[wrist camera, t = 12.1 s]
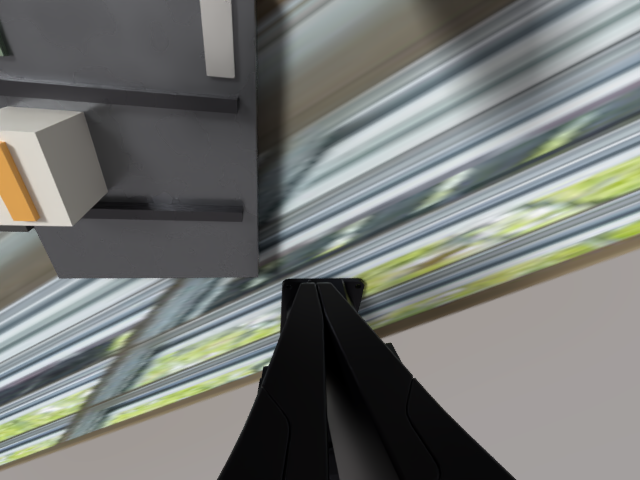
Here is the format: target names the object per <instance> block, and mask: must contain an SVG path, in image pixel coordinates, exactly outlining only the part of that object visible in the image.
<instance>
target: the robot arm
mask: <svg viewBox="0 0 640 480" xmlns="http://www.w3.org/2000/svg"><path fill="white" fill-rule="evenodd" d="M357 284H359V285H357ZM287 285H291V286H287ZM363 289H364V283H363V280H362V279H359V278H339V279H286V280H284V281H283V283H282V302H281V325H280V338H279V340H278V343H277V346H276V348H275V351H274V353H273V356H272V358H271V361H270V364H269V366H265V367H263V372H262V378H260V382H259V388H258V394H257V397H256V399H255V402H254V404H253V407H252V409H251V412H250V414H249V416H248V419H247V421H246V423H245V426H244V428H243V430H242V432H241V434H240V436H239V438H238V440H237V442H236V444H235V446H234V448H233V450H232V452H231V455H230V456H229V458H228V460H227V462H226V464H225V466H224V468H223V470H222V471H221V473H220V475H219V477H218V479H217V480H516V479H515V478H514V477H513V476H512V475H511V474H510V473H509V472H508V471H506V469H505V468H504V467H502V466H501V465H500V464H499V463H498V462H497V461H496V460H495V459H494V458H493V457H492V456H491V455H490V454H489V453H488V452H487V451H486V450H485V449H484V448H482V447H481V446H480V445H479V444H478V443H477V442H476V441H475V440H474V439H473V438H472V437H471V436H470V435H469V434H468V433H467V432H466V431H465V430H464V429H463V428H462V427H461V426H460V425H459V424H458V423H457V422H456V421H455V420H454V419H453V418H452V417H451V416H450V415H449V414H448V413H446V411H445V410H444V409H443V408H442V407H441V406H440V405H439V404H438V403H437V402H436V401H435V399H434V398H433V397H431V395H430V394H429V393H428V392H427V391H426V390H425V389H424V388H423V386H422V385H421V384H420V383H419V382H418V381H417V380H416V378H413V375H412V374H411V373H410V372H409V371H408V369H407V368H406V367H405V366H404V365H403V364H402V362H401V360H400V358H399V356H398V355H397V353H396V351H395V349H394V347H393V345H392V343H386V344H385V343H384V342H383V341H382V340H381V339H380V338H379V337H378V335H377V334H376V333H375V332H374V331H373V330H372V329H371V327H370V326H369V325H368V324H367V323H366V322H365V321H364V320H363V318H362V317H361V316H360V315H359V314H358V310H359V306H360V302H361V298H362V293H363Z"/></svg>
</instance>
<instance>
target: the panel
mask: <svg viewBox="0 0 640 480" xmlns="http://www.w3.org/2000/svg"><path fill="white" fill-rule="evenodd" d="M7 106H10V107H24V108H38V109H52V110H65V111H79V112H84V115H85V118H86V122H87V125H88V128H89V131H90V135H91V138H92V141H93V144H94V148H95V151H96V154H97V157H98V161H99V164H100V167H101V170H102V174H103V177H104V180H105V183H106V187H107V190H108V192H107V193H106V194H105V195H104V196H103V197H102V198H101V199H100V200H99V201H98V202H97V203H96V204H95V205H94V206H93V207H92V208H91V209H90V210H89V211H88V212H87V213H86V214H85V215H84V216H83V217H82V218H81V219H80V220H79V221H78V222H77V223H76V224H75V225H74V226H34V227H35V229H36V231H37V233H38V236H39V238H40V240H41V242H42V244H43V246H44V248H45V250H46V252H47V254H48V256H49V258H50V260H51V262H52V264H53V266H54V268H55V271H56V273H57V275H58V277H59V278H203V277H258V271H259V194H258V102H257V9H256V0H0V108H4V107H7Z"/></svg>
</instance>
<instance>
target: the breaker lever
mask: <svg viewBox="0 0 640 480" xmlns="http://www.w3.org/2000/svg"><path fill="white" fill-rule="evenodd" d="M107 192H108V190H107V187H106V183H105V180H104V177H103V174H102V170H101V167H100V164H99V161H98V157H97V154H96V151H95V148H94V144H93V141H92V138H91V135H90V131H89V128H88V125H87V122H86V118H85V115H84V112H79V111H65V110H52V109H38V108H24V107H10V106H7V107H4V108H0V225H24V226H74V225H75V224H76V223H77V222H78V221H79V220H80V219H81V218H82V217H83V216H84V215H85V214H86V213H87V212H88V211H89V210H90V209H91V208H92V207H93V206H94V205H95V204H96V203H97V202H98V201H99V200H100V199H101V198H102V197H103V196H104V195H105V194H106V193H107Z"/></svg>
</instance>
